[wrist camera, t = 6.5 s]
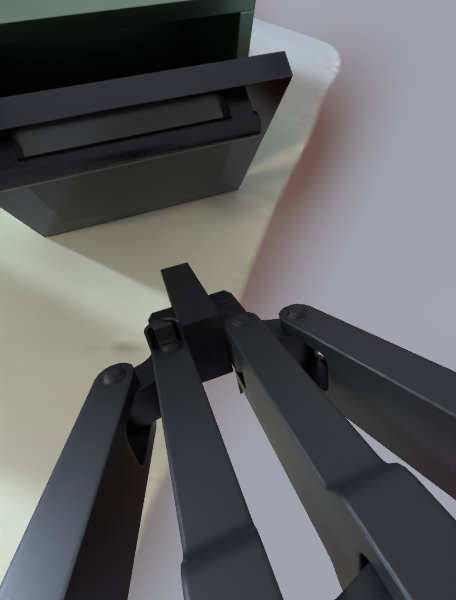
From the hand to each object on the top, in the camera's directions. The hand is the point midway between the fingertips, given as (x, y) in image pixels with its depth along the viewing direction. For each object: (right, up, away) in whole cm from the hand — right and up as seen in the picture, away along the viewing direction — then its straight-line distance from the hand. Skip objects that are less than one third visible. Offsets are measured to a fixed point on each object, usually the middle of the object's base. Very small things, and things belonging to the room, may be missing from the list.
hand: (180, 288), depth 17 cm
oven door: (-6, +8, +14) cm, 17 cm away
